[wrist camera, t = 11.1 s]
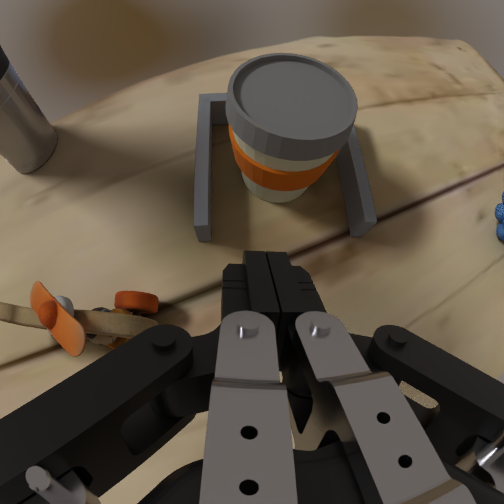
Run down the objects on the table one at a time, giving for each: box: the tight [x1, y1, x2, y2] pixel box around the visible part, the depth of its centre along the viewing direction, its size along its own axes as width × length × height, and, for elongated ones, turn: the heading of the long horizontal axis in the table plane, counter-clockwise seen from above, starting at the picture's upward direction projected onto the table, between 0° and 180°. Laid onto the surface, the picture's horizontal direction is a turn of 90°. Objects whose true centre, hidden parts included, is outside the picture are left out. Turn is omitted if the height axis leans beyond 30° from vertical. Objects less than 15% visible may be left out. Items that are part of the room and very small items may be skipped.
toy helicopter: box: [0, 281, 159, 357], centre depth 26 cm, size 8×21×14 cm, turn 90°
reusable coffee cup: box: [226, 53, 358, 203], centre depth 32 cm, size 13×13×15 cm
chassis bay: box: [193, 93, 377, 241], centre depth 37 cm, size 19×20×6 cm
